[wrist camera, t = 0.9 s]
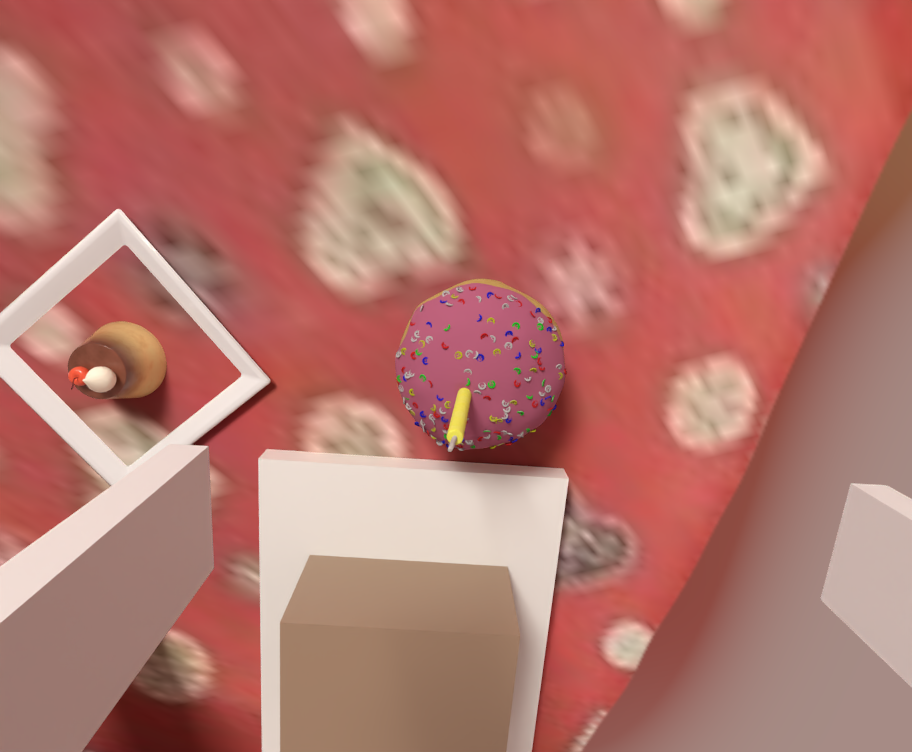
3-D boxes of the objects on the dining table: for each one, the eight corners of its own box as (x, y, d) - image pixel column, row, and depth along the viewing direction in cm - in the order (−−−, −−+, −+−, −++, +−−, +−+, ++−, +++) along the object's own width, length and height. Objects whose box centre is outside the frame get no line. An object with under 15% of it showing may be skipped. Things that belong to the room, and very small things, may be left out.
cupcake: (473, 447, 33) (486, 560, 21) (370, 348, 31) (324, 412, 20) (579, 349, 32) (656, 413, 20) (478, 241, 30) (497, 241, 18)
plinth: (269, 744, 38) (226, 863, 31) (266, 449, 33) (214, 508, 25) (525, 756, 38) (543, 876, 31) (563, 468, 33) (595, 532, 26)
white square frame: (-18, 340, 31) (-99, 357, 27) (130, 208, 30) (71, 202, 25) (133, 490, 34) (83, 530, 29) (277, 376, 32) (249, 399, 28)
